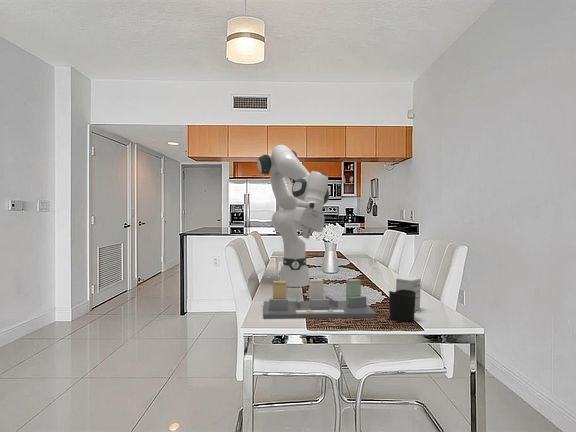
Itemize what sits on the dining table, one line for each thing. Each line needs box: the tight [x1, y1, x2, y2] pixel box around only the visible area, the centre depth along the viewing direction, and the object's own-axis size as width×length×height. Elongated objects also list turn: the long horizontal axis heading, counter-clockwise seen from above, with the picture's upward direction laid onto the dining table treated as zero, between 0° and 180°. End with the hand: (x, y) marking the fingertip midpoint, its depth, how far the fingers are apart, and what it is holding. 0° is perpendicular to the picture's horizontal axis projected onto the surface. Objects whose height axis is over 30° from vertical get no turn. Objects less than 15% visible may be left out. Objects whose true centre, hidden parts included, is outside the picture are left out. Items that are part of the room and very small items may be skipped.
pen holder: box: [388, 290, 416, 322], centre depth 160 cm, size 9×9×10 cm
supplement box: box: [395, 275, 422, 312], centre depth 175 cm, size 7×7×13 cm
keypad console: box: [263, 295, 378, 320], centre depth 171 cm, size 21×42×6 cm, turn 93°
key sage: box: [345, 278, 362, 306], centre depth 174 cm, size 3×5×10 cm, turn 115°
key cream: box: [308, 278, 324, 305], centre depth 174 cm, size 3×5×10 cm, turn 99°
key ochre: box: [272, 280, 288, 299], centre depth 170 cm, size 3×5×10 cm, turn 83°
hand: (305, 238), depth 187 cm, fingers closed
